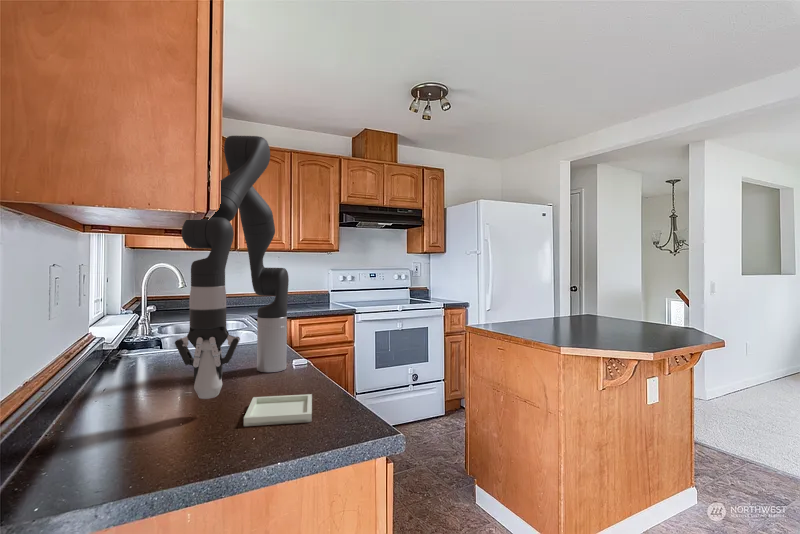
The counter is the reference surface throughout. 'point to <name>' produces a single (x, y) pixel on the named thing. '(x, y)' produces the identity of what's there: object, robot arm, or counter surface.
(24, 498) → the counter surface
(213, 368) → the salt shaker
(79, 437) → the counter surface
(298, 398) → the tray
